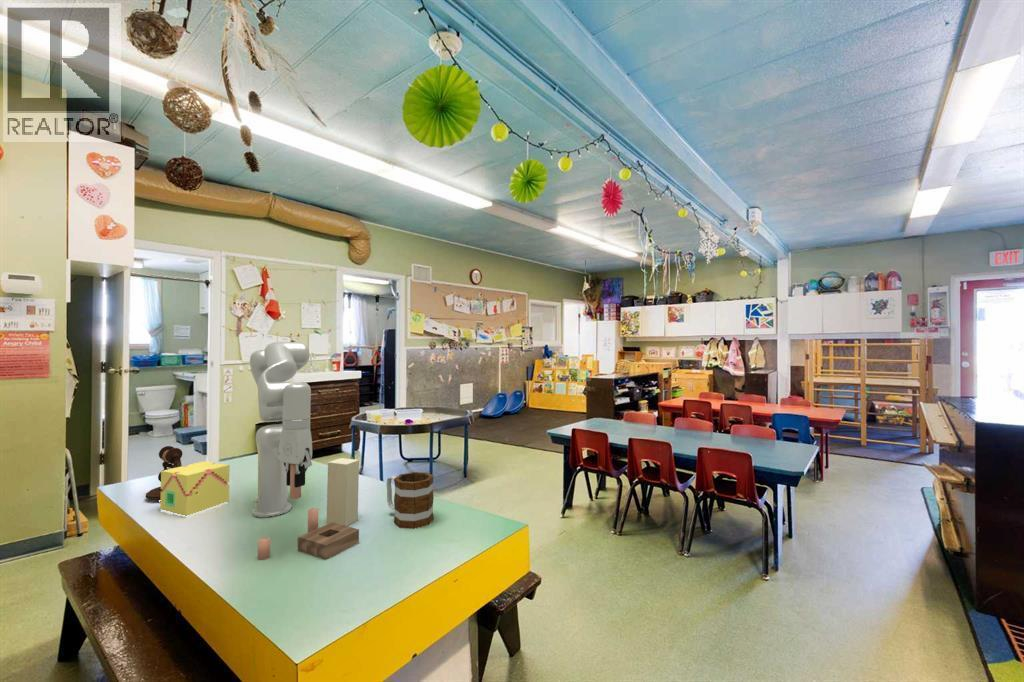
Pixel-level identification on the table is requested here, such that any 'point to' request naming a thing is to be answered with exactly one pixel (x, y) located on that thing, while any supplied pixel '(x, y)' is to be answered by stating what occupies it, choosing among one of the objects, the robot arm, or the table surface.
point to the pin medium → (312, 519)
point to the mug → (411, 499)
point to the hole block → (328, 540)
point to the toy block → (194, 487)
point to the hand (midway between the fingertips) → (295, 484)
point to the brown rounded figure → (168, 456)
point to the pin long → (294, 491)
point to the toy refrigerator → (342, 491)
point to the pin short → (263, 548)
